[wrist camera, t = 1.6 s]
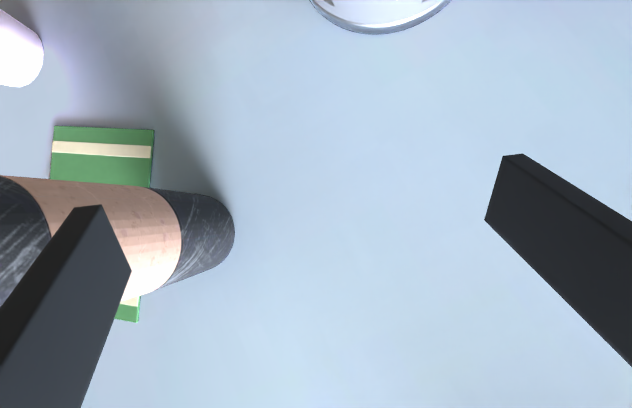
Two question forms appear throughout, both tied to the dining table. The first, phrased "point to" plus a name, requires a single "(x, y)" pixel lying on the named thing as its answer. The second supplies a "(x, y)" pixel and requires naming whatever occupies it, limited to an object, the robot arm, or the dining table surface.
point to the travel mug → (115, 228)
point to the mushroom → (18, 52)
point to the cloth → (104, 167)
